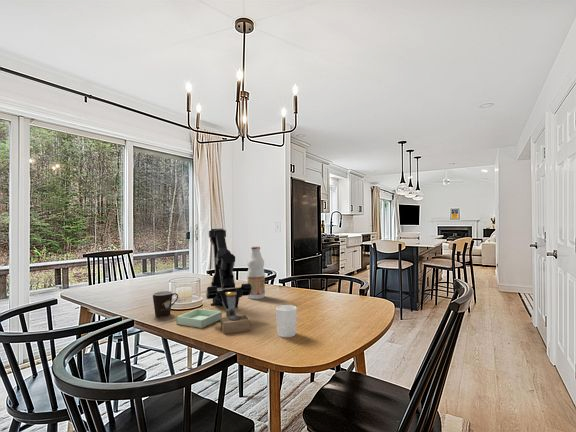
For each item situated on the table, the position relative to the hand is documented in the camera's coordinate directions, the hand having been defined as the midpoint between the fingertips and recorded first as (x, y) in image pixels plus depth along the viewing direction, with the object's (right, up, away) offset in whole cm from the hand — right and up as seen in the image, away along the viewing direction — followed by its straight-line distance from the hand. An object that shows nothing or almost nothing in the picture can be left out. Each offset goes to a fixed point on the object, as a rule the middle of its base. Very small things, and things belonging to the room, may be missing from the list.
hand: (231, 308), depth 136 cm
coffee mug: (-33, -7, +15) cm, 37 cm away
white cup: (+23, -7, -12) cm, 27 cm away
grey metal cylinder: (0, -7, +1) cm, 7 cm away
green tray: (-15, -7, +5) cm, 17 cm away
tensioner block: (+2, -7, -6) cm, 9 cm away
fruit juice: (+6, -7, +46) cm, 47 cm away
